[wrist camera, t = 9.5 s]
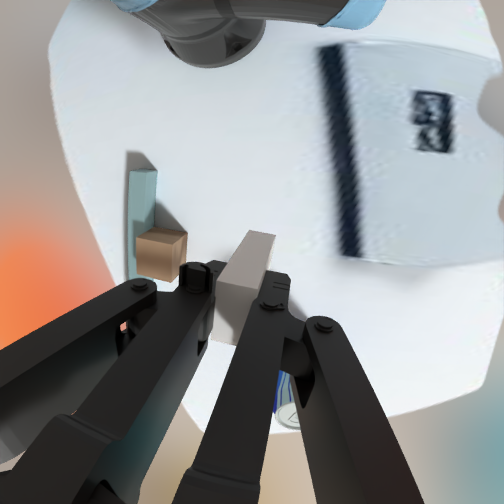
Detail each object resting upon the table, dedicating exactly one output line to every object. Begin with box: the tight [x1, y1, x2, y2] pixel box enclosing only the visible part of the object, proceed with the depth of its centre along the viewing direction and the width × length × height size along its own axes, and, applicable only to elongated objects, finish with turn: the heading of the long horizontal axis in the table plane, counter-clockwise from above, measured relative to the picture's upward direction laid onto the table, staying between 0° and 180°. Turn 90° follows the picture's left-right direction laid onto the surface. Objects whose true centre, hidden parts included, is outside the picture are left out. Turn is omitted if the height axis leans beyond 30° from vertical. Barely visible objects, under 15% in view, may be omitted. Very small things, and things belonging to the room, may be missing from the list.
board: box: [128, 169, 157, 281], centre depth 46 cm, size 24×3×4 cm, turn 172°
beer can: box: [273, 370, 301, 430], centre depth 43 cm, size 8×8×16 cm
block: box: [136, 227, 188, 283], centre depth 45 cm, size 6×6×6 cm
